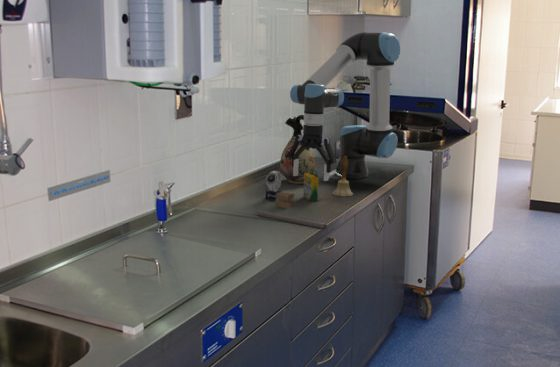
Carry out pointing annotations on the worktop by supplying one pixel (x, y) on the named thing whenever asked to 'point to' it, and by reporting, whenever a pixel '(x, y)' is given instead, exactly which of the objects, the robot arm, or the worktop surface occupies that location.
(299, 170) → the ceramic jug
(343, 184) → the hand bell
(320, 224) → the metal rod
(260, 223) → the worktop surface
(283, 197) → the walnut block
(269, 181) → the watch
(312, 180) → the crayon box
